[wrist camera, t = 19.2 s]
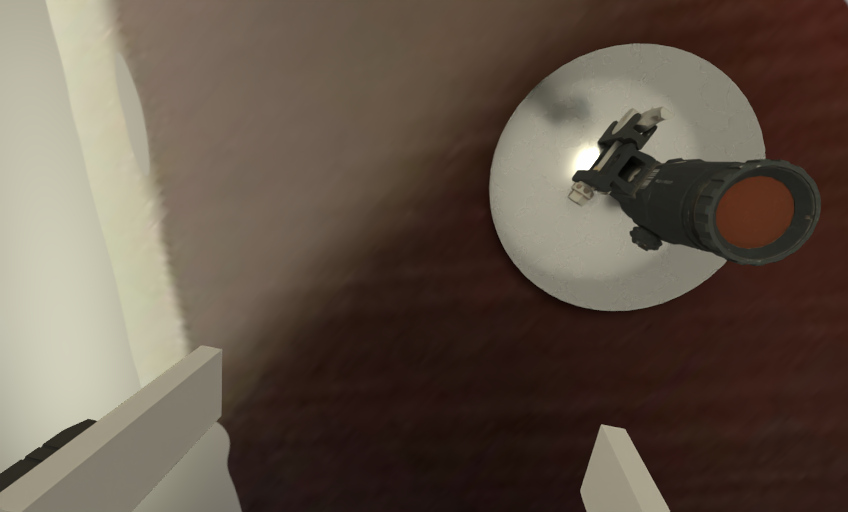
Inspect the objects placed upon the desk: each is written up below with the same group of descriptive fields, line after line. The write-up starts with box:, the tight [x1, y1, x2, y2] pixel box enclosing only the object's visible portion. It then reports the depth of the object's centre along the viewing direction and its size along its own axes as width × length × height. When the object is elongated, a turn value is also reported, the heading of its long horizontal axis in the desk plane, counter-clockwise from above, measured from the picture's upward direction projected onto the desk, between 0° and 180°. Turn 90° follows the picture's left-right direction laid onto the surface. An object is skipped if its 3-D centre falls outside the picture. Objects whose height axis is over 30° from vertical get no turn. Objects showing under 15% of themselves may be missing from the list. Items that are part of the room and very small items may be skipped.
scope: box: [567, 106, 821, 266], centre depth 27 cm, size 8×14×10 cm
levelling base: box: [489, 44, 765, 311], centre depth 36 cm, size 22×22×4 cm
